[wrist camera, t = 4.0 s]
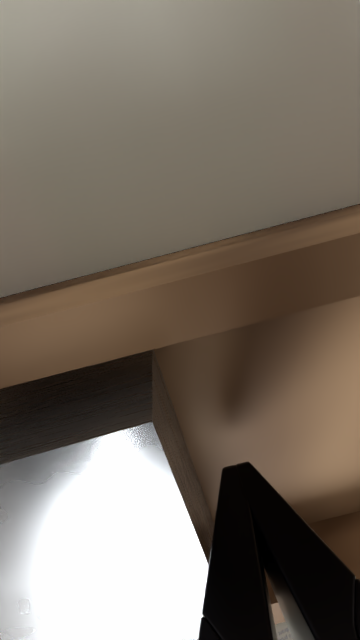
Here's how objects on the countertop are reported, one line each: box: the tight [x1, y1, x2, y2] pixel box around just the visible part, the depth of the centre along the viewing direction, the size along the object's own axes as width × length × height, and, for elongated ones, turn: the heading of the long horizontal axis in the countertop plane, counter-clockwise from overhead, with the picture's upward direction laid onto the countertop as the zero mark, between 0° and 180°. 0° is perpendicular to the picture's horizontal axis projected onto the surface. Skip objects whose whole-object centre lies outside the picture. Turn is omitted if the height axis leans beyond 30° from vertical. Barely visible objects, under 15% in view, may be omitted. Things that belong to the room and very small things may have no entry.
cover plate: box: [0, 349, 214, 640], centre depth 8 cm, size 8×8×3 cm
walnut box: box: [0, 204, 360, 624], centre depth 9 cm, size 18×12×3 cm, turn 104°
